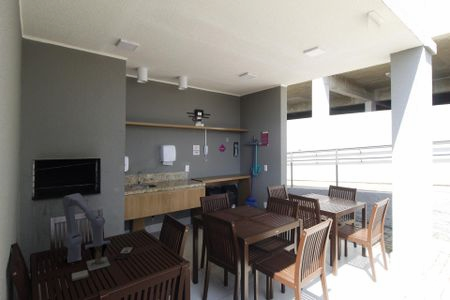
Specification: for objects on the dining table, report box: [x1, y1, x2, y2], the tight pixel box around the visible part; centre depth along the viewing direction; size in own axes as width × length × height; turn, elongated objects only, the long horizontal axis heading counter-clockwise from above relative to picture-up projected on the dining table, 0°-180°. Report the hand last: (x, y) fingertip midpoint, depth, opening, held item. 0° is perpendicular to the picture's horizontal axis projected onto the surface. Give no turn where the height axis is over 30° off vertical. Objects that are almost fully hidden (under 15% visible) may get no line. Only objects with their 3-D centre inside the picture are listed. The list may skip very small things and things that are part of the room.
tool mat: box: [85, 256, 111, 272], centre depth 158 cm, size 14×12×1 cm
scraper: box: [92, 250, 105, 266], centre depth 158 cm, size 4×7×8 cm, turn 126°
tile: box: [71, 269, 89, 282], centre depth 143 cm, size 2×8×7 cm
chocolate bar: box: [113, 246, 135, 261], centre depth 173 cm, size 9×1×18 cm
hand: (98, 257), depth 158 cm, fingers open, 5 cm apart
